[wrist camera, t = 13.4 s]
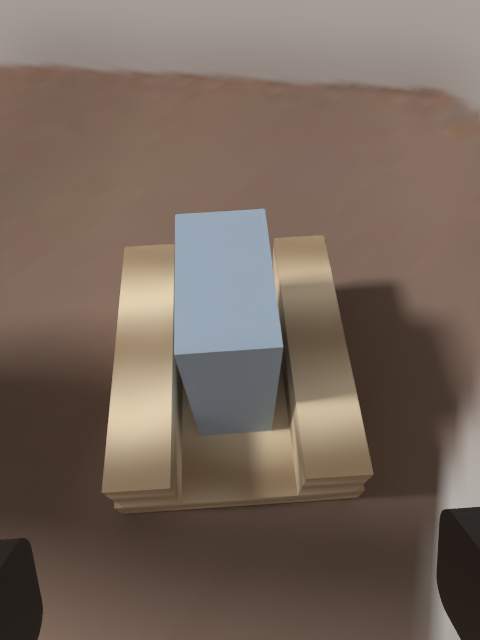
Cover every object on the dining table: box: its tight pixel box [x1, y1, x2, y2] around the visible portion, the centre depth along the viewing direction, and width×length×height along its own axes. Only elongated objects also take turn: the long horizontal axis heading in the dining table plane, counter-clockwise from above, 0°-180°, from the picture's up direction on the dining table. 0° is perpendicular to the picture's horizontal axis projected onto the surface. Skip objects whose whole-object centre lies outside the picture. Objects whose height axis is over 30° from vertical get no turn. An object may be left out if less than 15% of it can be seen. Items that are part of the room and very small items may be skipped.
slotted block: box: [102, 235, 374, 514], centre depth 26 cm, size 14×13×6 cm
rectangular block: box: [174, 209, 283, 436], centre depth 22 cm, size 7×4×10 cm, turn 4°
